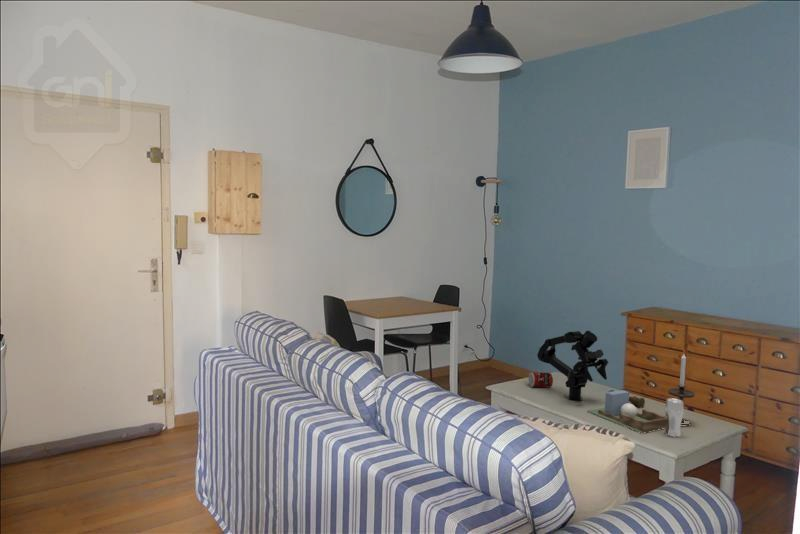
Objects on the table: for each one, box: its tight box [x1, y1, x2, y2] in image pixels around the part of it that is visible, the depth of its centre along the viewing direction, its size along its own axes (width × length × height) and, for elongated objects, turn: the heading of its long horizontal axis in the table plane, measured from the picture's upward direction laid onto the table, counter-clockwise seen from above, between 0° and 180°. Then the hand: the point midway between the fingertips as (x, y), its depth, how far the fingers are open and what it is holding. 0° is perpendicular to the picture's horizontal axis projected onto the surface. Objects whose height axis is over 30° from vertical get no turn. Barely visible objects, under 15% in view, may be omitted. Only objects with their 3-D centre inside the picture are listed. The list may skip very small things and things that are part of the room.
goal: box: [587, 407, 667, 434], centre depth 270 cm, size 32×19×4 cm, turn 27°
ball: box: [621, 402, 638, 417], centre depth 270 cm, size 7×7×7 cm
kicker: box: [604, 389, 630, 416], centre depth 276 cm, size 4×11×10 cm, turn 117°
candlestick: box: [667, 347, 696, 425], centre depth 266 cm, size 11×11×35 cm
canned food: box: [528, 372, 554, 388], centre depth 321 cm, size 8×8×11 cm
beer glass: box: [664, 397, 685, 437], centre depth 251 cm, size 7×7×15 cm
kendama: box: [607, 388, 646, 409], centre depth 297 cm, size 6×10×20 cm
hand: (599, 380), depth 285 cm, fingers open, 9 cm apart
